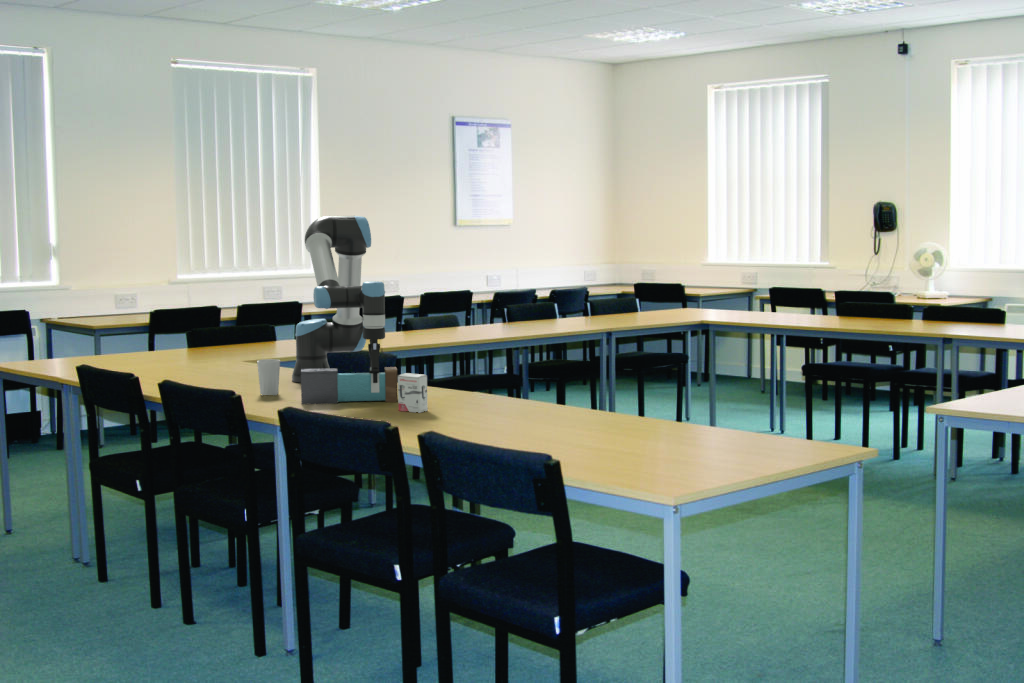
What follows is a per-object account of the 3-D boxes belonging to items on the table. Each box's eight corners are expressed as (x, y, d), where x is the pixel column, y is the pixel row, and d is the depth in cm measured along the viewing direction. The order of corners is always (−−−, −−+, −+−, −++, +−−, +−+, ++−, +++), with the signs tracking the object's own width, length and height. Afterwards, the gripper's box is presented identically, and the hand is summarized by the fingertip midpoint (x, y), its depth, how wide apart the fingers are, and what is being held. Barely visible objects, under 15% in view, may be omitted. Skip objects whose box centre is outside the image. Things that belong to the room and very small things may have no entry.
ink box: (397, 411, 351) (396, 374, 349) (405, 408, 355) (405, 372, 354) (420, 413, 347) (419, 376, 345) (428, 410, 351) (428, 374, 350)
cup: (278, 396, 381) (277, 362, 379) (255, 396, 381) (254, 362, 380) (283, 392, 389) (282, 359, 387) (261, 392, 389) (260, 359, 388)
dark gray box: (302, 400, 370) (301, 368, 369) (337, 400, 372) (337, 368, 371) (301, 404, 364) (300, 371, 362) (337, 403, 365) (337, 370, 364)
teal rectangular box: (328, 399, 370) (328, 373, 369) (393, 398, 374) (393, 372, 373) (328, 401, 366) (328, 375, 365) (394, 400, 370) (394, 373, 369)
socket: (384, 398, 375) (384, 367, 373) (396, 398, 375) (396, 367, 374) (385, 402, 368) (385, 369, 367) (397, 401, 369) (397, 369, 367)
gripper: (362, 323, 380) (362, 383, 382) (363, 331, 355) (364, 395, 358) (383, 323, 381) (384, 383, 383) (386, 330, 356) (387, 394, 359)
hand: (374, 389), depth 370 cm, fingers open, 13 cm apart
